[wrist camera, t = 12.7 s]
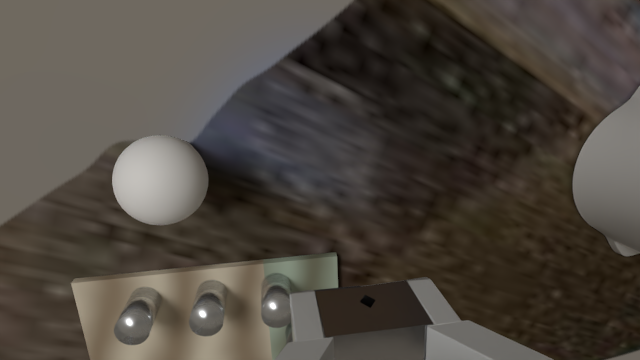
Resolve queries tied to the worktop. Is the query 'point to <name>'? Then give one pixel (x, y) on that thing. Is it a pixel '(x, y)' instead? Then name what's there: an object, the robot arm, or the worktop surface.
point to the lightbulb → (160, 180)
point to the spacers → (202, 309)
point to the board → (177, 301)
